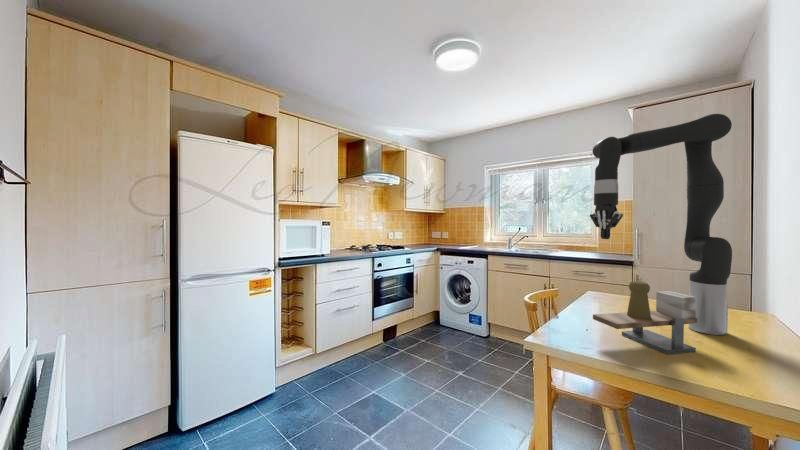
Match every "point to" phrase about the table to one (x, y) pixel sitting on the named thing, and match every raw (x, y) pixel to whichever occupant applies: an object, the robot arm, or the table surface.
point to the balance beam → (656, 312)
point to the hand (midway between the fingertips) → (605, 238)
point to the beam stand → (663, 338)
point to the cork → (639, 301)
